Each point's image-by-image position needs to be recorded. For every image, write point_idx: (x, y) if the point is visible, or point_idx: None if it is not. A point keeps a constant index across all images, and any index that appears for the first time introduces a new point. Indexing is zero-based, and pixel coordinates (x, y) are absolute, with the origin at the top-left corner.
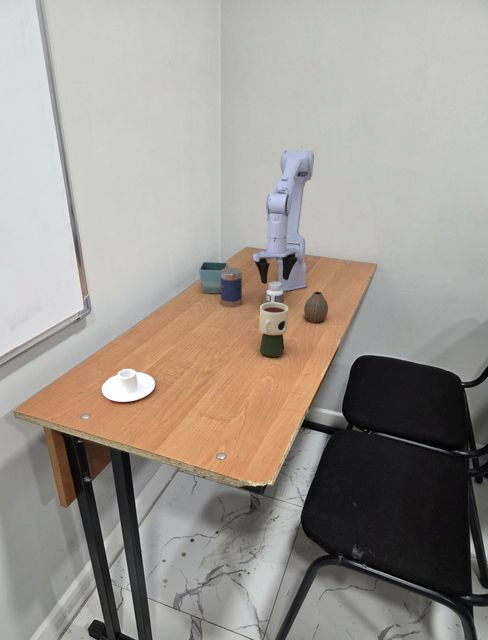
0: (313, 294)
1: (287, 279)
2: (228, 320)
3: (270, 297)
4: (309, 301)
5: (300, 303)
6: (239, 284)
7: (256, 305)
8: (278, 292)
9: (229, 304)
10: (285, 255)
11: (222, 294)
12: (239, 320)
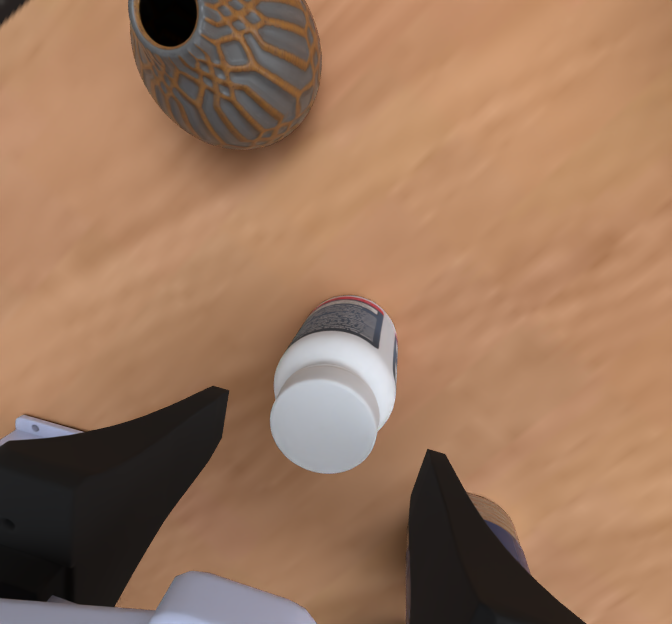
0: (211, 34)
1: (215, 389)
2: (650, 412)
3: (393, 370)
4: (272, 57)
5: (175, 301)
6: None
7: (381, 437)
8: (344, 351)
9: (510, 525)
10: (185, 598)
11: None
12: (604, 372)
